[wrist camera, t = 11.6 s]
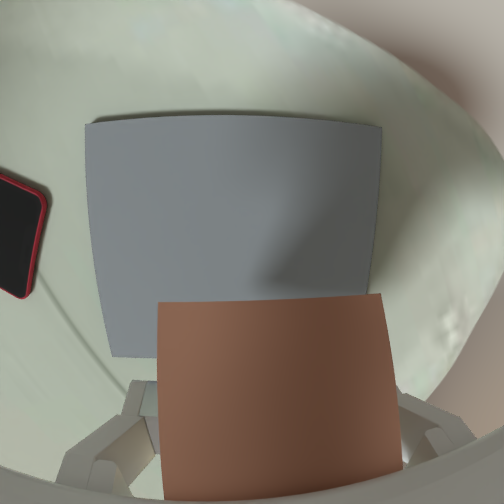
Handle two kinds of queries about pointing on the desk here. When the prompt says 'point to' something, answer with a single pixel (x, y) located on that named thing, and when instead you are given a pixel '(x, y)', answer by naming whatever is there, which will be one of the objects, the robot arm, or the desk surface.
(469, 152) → the desk surface
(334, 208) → the rubber mat
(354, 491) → the robot arm
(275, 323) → the beech block
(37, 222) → the smartphone
